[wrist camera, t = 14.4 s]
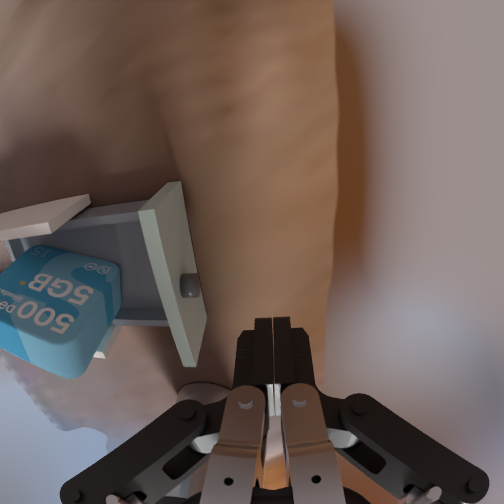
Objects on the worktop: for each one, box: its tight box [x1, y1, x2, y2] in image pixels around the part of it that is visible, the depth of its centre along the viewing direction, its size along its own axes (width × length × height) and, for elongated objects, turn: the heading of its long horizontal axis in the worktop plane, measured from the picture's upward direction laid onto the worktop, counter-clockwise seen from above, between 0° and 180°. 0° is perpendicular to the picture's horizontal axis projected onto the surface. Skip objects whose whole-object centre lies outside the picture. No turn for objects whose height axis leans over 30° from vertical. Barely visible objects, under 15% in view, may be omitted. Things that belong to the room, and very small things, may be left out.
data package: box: [0, 245, 122, 378], centre depth 23 cm, size 12×4×12 cm, turn 79°
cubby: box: [0, 194, 123, 359], centre depth 27 cm, size 15×22×7 cm
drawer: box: [4, 181, 207, 367], centre depth 26 cm, size 15×23×7 cm, turn 95°
